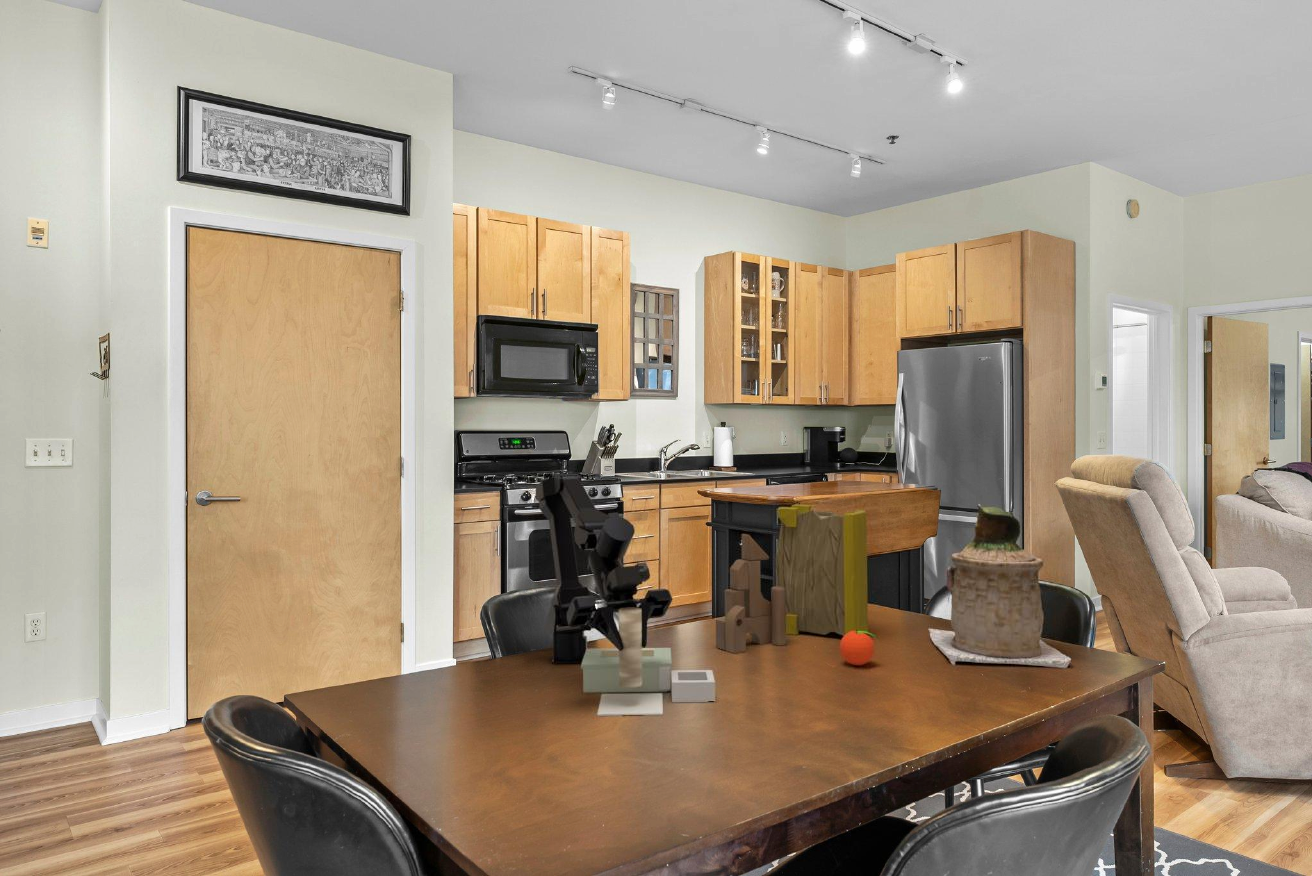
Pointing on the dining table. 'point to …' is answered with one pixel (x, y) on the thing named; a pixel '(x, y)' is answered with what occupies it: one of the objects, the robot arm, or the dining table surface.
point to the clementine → (857, 647)
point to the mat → (630, 704)
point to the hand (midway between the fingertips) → (633, 648)
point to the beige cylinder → (630, 647)
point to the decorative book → (823, 570)
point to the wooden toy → (750, 605)
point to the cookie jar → (996, 599)
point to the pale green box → (647, 675)
